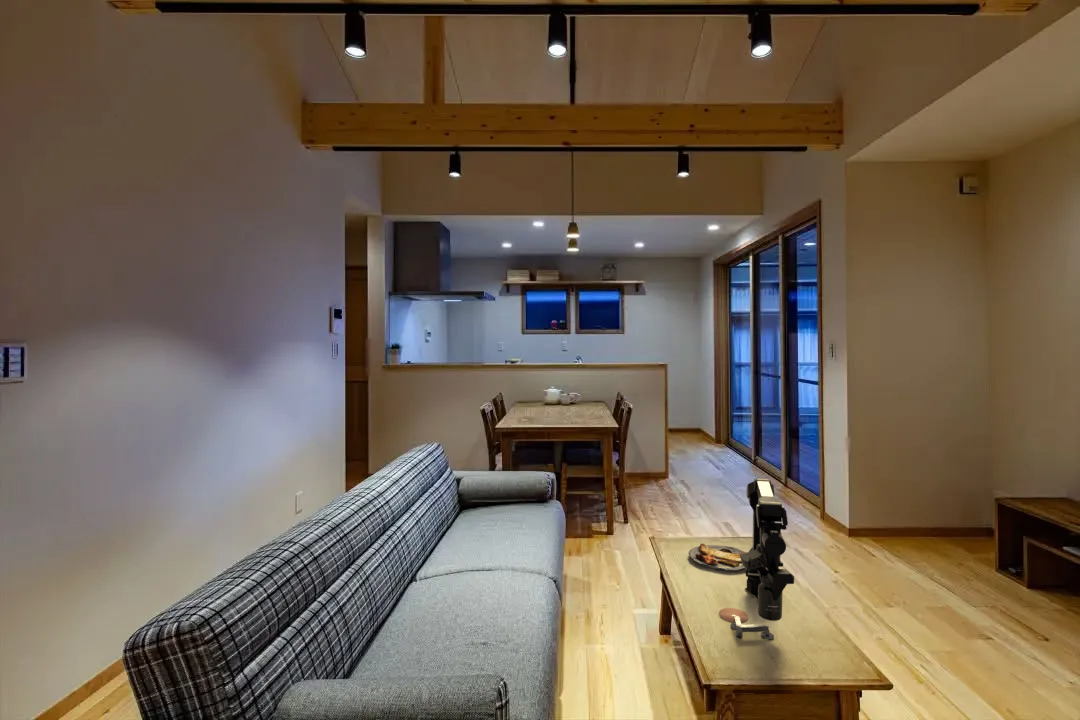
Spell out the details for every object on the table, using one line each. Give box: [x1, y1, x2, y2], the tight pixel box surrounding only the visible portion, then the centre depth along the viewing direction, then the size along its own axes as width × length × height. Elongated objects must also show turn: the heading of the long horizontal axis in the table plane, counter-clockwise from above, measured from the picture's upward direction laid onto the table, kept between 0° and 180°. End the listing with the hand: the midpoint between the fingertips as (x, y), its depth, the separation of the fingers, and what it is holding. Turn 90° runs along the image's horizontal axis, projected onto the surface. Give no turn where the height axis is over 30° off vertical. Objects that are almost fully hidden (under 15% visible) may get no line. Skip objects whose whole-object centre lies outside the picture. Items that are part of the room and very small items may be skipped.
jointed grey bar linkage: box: [730, 616, 775, 641], centre depth 171 cm, size 11×11×4 cm
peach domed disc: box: [718, 607, 749, 624], centre depth 181 cm, size 9×9×1 cm
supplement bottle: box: [757, 574, 783, 622], centre depth 167 cm, size 7×7×12 cm
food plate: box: [688, 543, 748, 571], centre depth 226 cm, size 25×23×4 cm
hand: (770, 594), depth 167 cm, fingers closed on supplement bottle, 7 cm apart
